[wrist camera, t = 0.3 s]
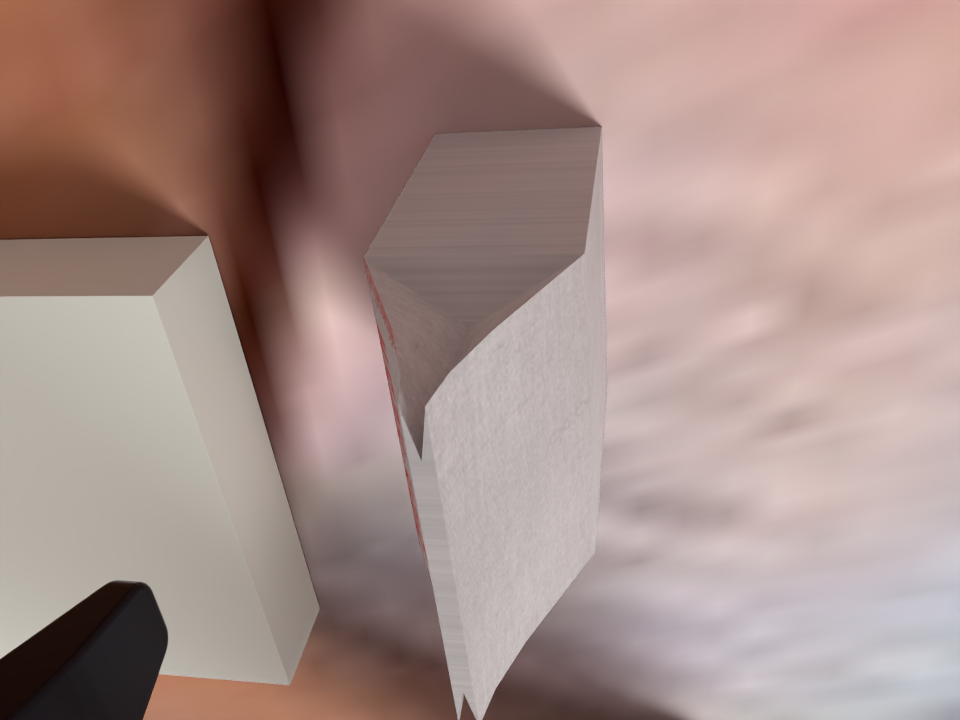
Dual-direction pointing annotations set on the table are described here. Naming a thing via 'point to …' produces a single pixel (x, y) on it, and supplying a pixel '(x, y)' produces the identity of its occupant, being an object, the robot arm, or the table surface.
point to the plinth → (142, 456)
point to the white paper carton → (497, 378)
